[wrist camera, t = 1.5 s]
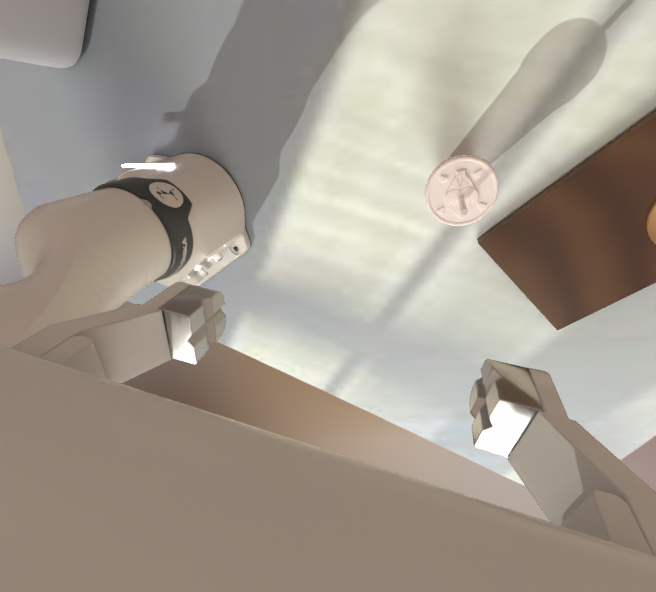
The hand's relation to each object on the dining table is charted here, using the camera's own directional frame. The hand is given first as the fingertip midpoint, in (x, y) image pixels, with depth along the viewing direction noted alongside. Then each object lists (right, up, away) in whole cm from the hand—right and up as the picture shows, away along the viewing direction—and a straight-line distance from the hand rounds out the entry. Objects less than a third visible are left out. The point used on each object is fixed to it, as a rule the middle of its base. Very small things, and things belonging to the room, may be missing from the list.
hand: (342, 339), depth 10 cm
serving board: (+31, +9, +27) cm, 42 cm away
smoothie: (+14, +16, +28) cm, 35 cm away
